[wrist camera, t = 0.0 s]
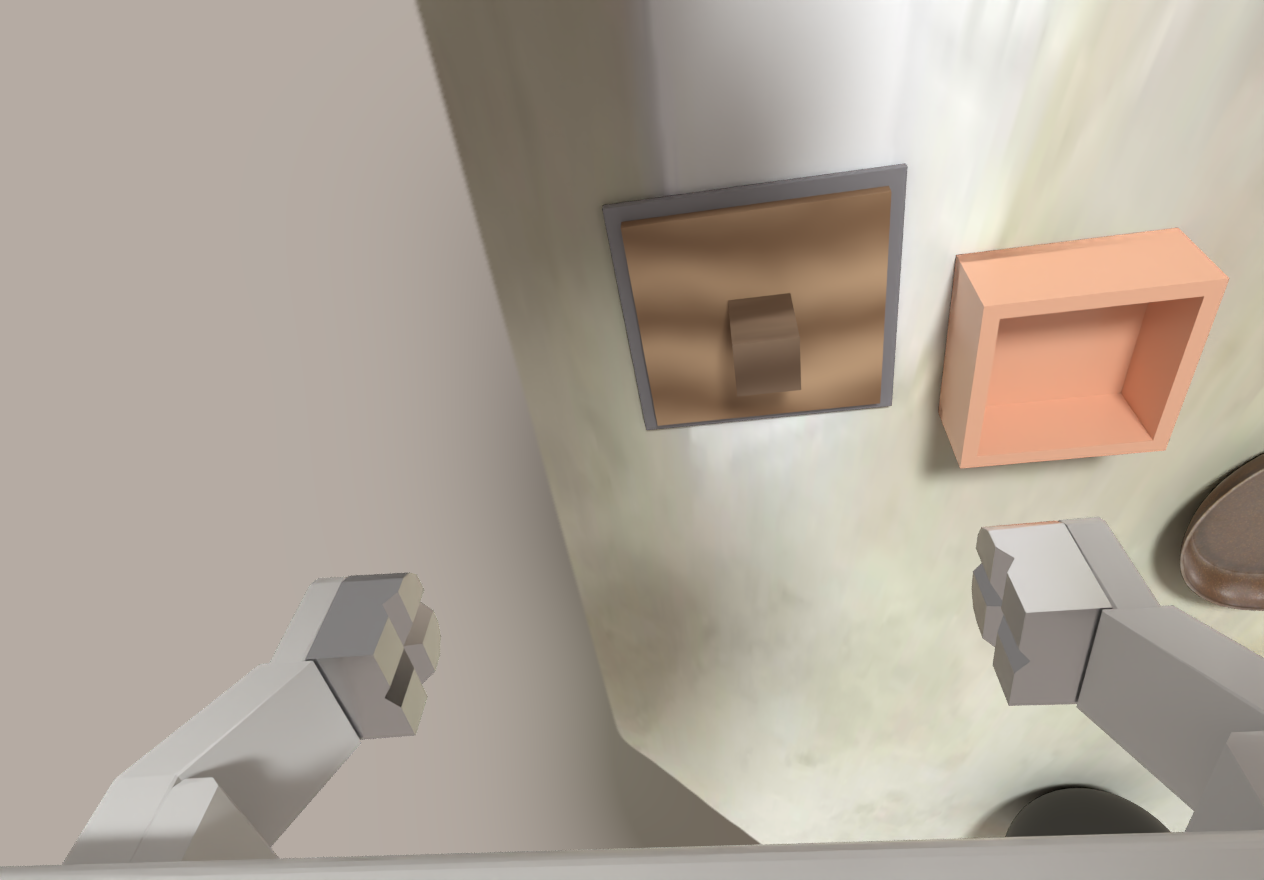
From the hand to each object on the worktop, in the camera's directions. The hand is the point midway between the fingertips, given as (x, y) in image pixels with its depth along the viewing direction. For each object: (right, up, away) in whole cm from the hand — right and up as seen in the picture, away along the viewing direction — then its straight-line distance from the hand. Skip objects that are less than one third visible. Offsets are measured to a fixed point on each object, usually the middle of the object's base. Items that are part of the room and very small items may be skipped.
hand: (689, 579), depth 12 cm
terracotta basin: (+27, +10, +42) cm, 51 cm away
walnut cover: (+8, +10, +42) cm, 44 cm away
